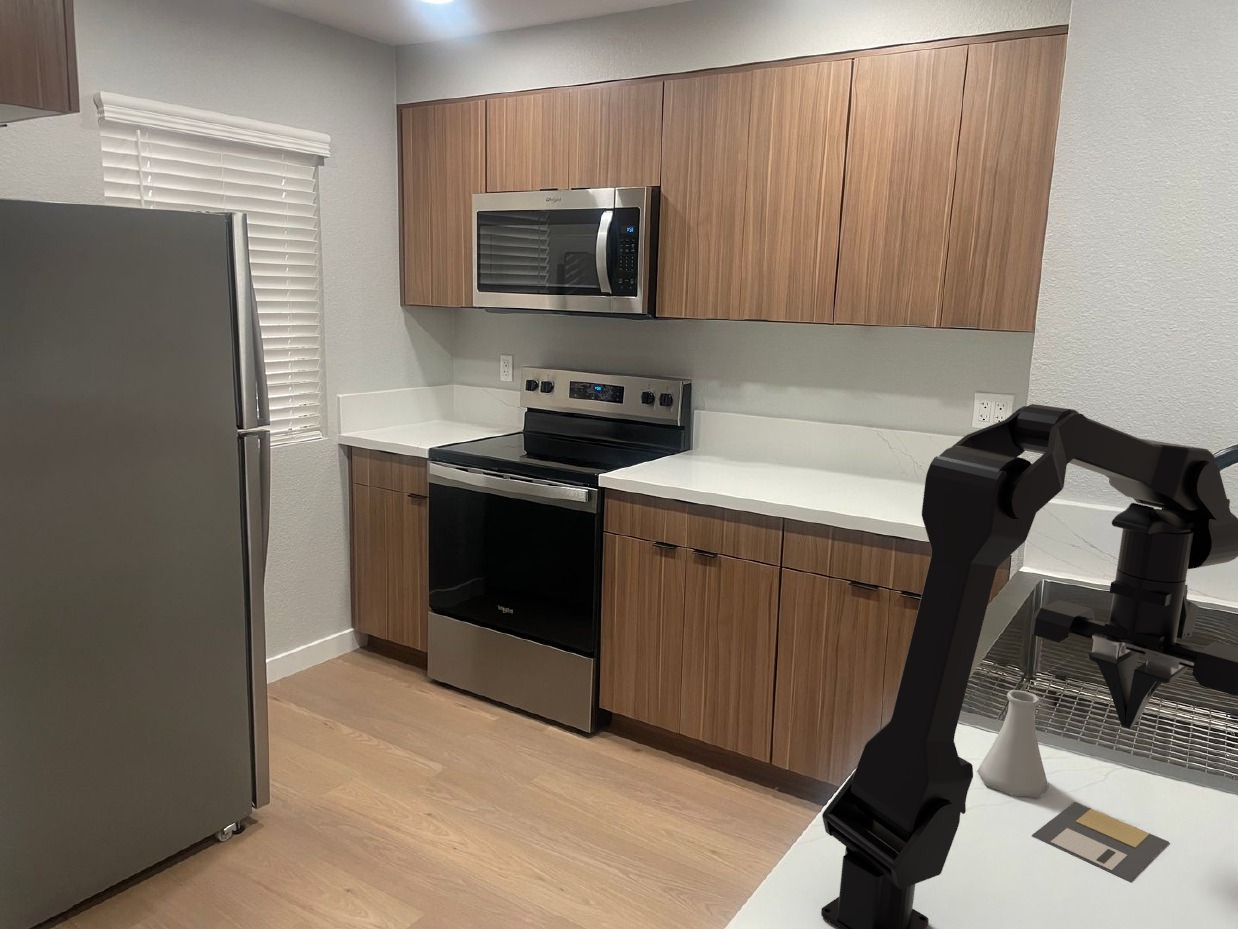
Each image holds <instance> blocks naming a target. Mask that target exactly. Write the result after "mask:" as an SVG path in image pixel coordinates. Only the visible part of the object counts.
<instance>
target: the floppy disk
mask: <svg viewBox="0 0 1238 929" xmlns="http://www.w3.org/2000/svg"><path fill="white" fill-rule="evenodd" d="M1031 836H1032V837H1034V838H1036V839H1038V840H1040V841H1043V842H1045V843H1046V844H1048V845H1051V846H1053V847H1055V848H1057V849H1060V850H1061V851H1063V852H1066V853H1067V854H1070V855H1073V857H1074V856H1075V857H1076V858H1079V859H1081V860H1083V861H1085V862H1087V863H1090V864H1091V865H1094V866H1095V867H1096V866H1097V867H1098V868H1100V869H1102V870H1105V871H1106V872H1109V873H1111V874H1113V875H1115V876H1117V877H1119V878H1122V879H1123V880H1126V881H1128V882H1131V881H1133V879H1134V878H1135V877H1137V875H1139V874H1140V872H1141V871H1142V870H1144V868H1145V867H1147V865H1149V863H1151V861H1153V859H1154V858H1155V857H1157V855H1158V854H1159V853H1161V851H1162V850H1163V849H1164V848H1165V847H1166V846H1167V845H1168V844H1169V843H1170V841H1169V840H1167V839H1164V838H1161V837H1159V836H1157V835H1155V834H1151V833H1150V832H1147V831H1145V830H1143V829H1140V828H1138V827H1135V826H1133V825H1131V824H1128V823H1126V822H1124V821H1122V820H1119V819H1117V818H1115V817H1112V816H1109V815H1108V814H1105V813H1103V812H1100V811H1098V810H1097V809H1093V808H1091V807H1088V806H1086V805H1083V804H1082V803H1079V802H1077V801H1073V802H1072V803H1071V804H1070V805H1069V806H1067V807H1065V809H1063V810H1062V811H1060V812H1059V813H1058V814H1057V815H1056V816H1054V817H1053V818H1052V819H1051V820H1049V821H1048V822H1047V823H1045V824H1044V825H1043V826H1041V827H1040V828H1039V829H1037V831H1035V832H1034V833H1033V834H1032V835H1031Z"/></svg>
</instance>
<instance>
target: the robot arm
mask: <svg viewBox="0 0 1238 929" xmlns="http://www.w3.org/2000/svg"><path fill="white" fill-rule="evenodd" d="M1025 452H1031V453H1035V454H1042V455H1041V456H1040V457H1038V458H1037V459H1036V460H1035V461H1034V462H1032V463H1031V461H1029V460H1027V459H1025V458H1023V457H1019V456H1021V455H1023V454H1024V453H1025ZM1215 462H1216V458H1215V455H1214V454H1213V453H1212V452H1211V451H1210V450H1209V449H1207V448H1203V447H1197V446H1196V447H1195V446H1190V445H1184V444H1183V445H1182V444H1177V443H1170V442H1165V441H1157V440H1151V439H1146V438H1145V439H1144V438H1139V437H1136V436H1134V435H1131V434H1128V433H1126V432H1124V431H1121V430H1118V429H1116V428H1114V427H1111V426H1109V425H1106V424H1103V423H1100V422H1099V421H1095V420H1093V419H1091V418H1088V417H1086V416H1085V414H1082V413H1080V412H1079V411H1078V410H1076V409H1073V408H1064V407H1059V406H1058V407H1057V406H1049V405H1045V404H1044V405H1042V404H1036V403H1031V404H1028V405H1024V406H1021V407H1019V408H1018V409H1017V410H1015V411H1014V412H1013V413H1011V414H1010V415H1009V416H1008V417H1006V418H1005V419H1004V420H1002V421H998V422H996V423H994V424H991V425H988V426H986V427H984V428H983V427H982V428H981V429H979V430H976V431H973V432H971V433H969V434H966V435H965V436H963V437H962V438H961V439H960V440H958V441H957V442H956V443H955V444H953V445H952V446H950V447H948V448H946V449H945V450H944V451H943V452H942V453H940V454H939V455H938V456H937V455H936V456H935V457H934V458H933V459H932V460H931V463H930V464H929V467H928V469H927V472H926V475H925V480H924V487H923V488H924V489H923V490H924V491H923V497H922V507H921V517H922V522H923V524H924V528H925V532H926V535H927V538H928V542H929V546H930V548H931V556H930V560H929V563H928V568H927V572H926V575H925V581H924V584H923V589H922V593H921V597H920V601H919V603H918V604H919V605H918V608H917V613H916V617H915V621H914V626H913V629H912V632H911V638H910V641H909V647H908V650H907V654H906V658H905V662H904V666H903V670H902V674H901V678H900V682H899V686H898V691H897V695H896V698H895V702H894V706H893V711H892V715H891V717H890V720H889V721H888V722H887V723H886V724H884V726H883V727H882V728H880V729H879V730H878V731H877V732H876V733H875V734H874V735H873V736H872V737H871V738H870V739H867V741H866V743H865V744H864V747H863V750H862V752H861V754H860V757H859V759H858V762H857V765H856V767H855V770H854V771H853V773H851V775H850V777H848V779H847V780H846V782H845V783H844V785H843V786H842V787H841V789H840V790H839V791H838V792H837V794H835V796H834V798H833V799H832V801H830V803H829V804H828V805H827V807H826V808H825V809H824V811H823V812H822V815H821V817H822V821H823V826H824V830H825V833H826V834H827V835H829V836H830V837H833V838H835V839H836V840H837V841H838V842H840V843H841V844H843V845H844V847H845V852H844V855H843V857H842V863H841V864H842V865H841V874H840V885H839V896H837V897H836V898H835V899H833V900H832V901H830V902H829V903H828V904H826V905H824V906H823V907H821V911H820V915H821V916H822V917H823V918H824V919H825V920H827V921H829V923H831V924H833V925H834V926H836V927H838V928H840V929H926V928H927V927H928V926H929V923H930V922H929V917H927V916H926V915H925V914H923V913H921V912H920V911H918V910H916V909H914V908H913V907H914V906H913V905H914V900H915V891H916V884H918V883H922V882H924V881H927V880H929V879H932V878H935V877H937V876H940V875H941V874H942V872H943V869H944V866H945V864H946V861H947V859H948V856H949V852H950V850H951V848H952V845H953V842H954V840H955V836H956V833H957V831H958V829H959V826H960V821H961V820H960V819H961V814H962V815H965V814H966V812H967V810H966V807H967V805H966V802H967V797H968V792H969V789H970V787H971V783H972V782H973V778H974V769H973V768H974V767H973V764H972V763H971V762H969V761H967V760H965V759H964V758H962V757H960V756H959V753H958V751H957V747H956V743H955V736H956V732H957V727H958V723H959V718H960V715H961V712H962V707H963V703H964V700H965V695H966V693H967V692H966V691H967V688H968V682H969V681H970V680H969V679H970V675H971V671H972V668H973V664H974V661H975V656H976V652H977V647H978V644H979V640H980V635H981V631H982V628H983V624H984V619H985V616H986V612H987V609H988V604H989V600H990V596H991V593H992V592H991V591H992V588H993V585H994V580H995V576H996V573H997V570H998V568H999V567H1000V566H1001V565H1002V564H1003V563H1004V562H1005V561H1006V560H1007V559H1008V558H1009V557H1010V556H1011V555H1012V554H1013V553H1015V551H1016V550H1017V549H1018V548H1020V547H1021V546H1022V545H1023V544H1024V543H1025V542H1026V541H1027V538H1028V537H1029V533H1030V531H1031V528H1032V525H1033V523H1034V520H1035V518H1036V515H1037V514H1038V512H1039V511H1040V510H1041V509H1043V507H1045V506H1046V505H1047V504H1048V503H1049V502H1050V501H1052V500H1053V499H1054V498H1055V497H1056V496H1057V495H1059V493H1060V492H1061V491H1063V489H1064V488H1065V481H1066V480H1065V478H1066V472H1067V465H1068V464H1071V465H1074V466H1077V467H1080V468H1083V469H1086V470H1088V471H1092V472H1095V473H1097V474H1100V475H1103V476H1105V478H1106V477H1107V478H1108V479H1109V480H1108V483H1109V485H1110V486H1111V487H1112V488H1114V489H1115V490H1116V491H1118V492H1119V493H1120V494H1122V495H1124V496H1125V497H1127V498H1130V499H1133V500H1134V501H1135V502H1131V503H1130V504H1129V505H1128V506H1127V507H1126V508H1125V510H1123V511H1122V512H1120V513H1118V514H1117V515H1115V517H1113V519H1112V521H1111V525H1112V526H1113V527H1115V528H1120V529H1122V533H1121V540H1120V545H1119V552H1118V553H1119V554H1118V560H1117V568H1116V573H1115V580H1113V581H1111V582H1110V587H1109V593H1110V594H1112V600H1111V606H1110V614H1109V620H1108V621H1107V622H1103V621H1100V620H1095V617H1096V615H1095V612H1094V608H1091V607H1088V606H1083V605H1081V604H1076V603H1074V602H1073V603H1072V602H1068V601H1064V600H1061V599H1057V600H1056V601H1053V602H1052V603H1049V604H1047V605H1044V606H1042V607H1040V608H1038V609H1037V610H1035V612H1034V614H1033V616H1032V617H1031V618H1032V619H1031V627H1030V634H1032V635H1033V636H1035V637H1039V638H1042V639H1045V640H1049V641H1051V642H1056V643H1058V644H1059V643H1062V642H1063V641H1065V640H1067V639H1069V638H1070V637H1072V636H1071V635H1073V634H1074V635H1076V636H1080V637H1083V638H1087V639H1090V640H1093V643H1092V650H1091V651H1090V652H1088V653H1087V659H1088V660H1089V661H1091V662H1094V663H1096V664H1097V668H1098V669H1099V671H1100V674H1101V675H1102V678H1103V679H1104V682H1105V683H1106V686H1107V688H1108V691H1109V694H1110V696H1111V699H1112V703H1113V706H1114V709H1115V712H1116V714H1117V717H1118V720H1119V723H1120V726H1121V727H1123V728H1127V729H1129V730H1130V729H1132V728H1134V726H1135V725H1136V723H1137V721H1138V720H1139V718H1140V716H1141V715H1142V713H1143V712H1144V710H1145V708H1146V707H1147V705H1148V703H1149V702H1150V700H1151V698H1152V697H1153V695H1154V694H1155V693H1156V691H1157V690H1158V688H1159V687H1160V686H1161V685H1162V684H1170V683H1171V682H1173V681H1175V680H1176V679H1178V678H1179V677H1180V676H1182V675H1183V674H1184V673H1186V672H1187V670H1188V668H1189V669H1192V674H1191V675H1192V676H1193V678H1194V679H1195V680H1196V682H1198V684H1199V685H1200V686H1201V687H1204V688H1208V689H1212V690H1214V691H1217V692H1221V693H1224V694H1227V695H1231V696H1234V697H1235V696H1237V697H1238V647H1237V646H1233V645H1230V644H1225V643H1222V642H1218V641H1215V640H1214V641H1212V642H1211V643H1210V644H1208V645H1207V646H1205V647H1204V648H1201V649H1200V648H1198V647H1195V646H1190V645H1187V644H1183V643H1180V642H1177V639H1180V640H1183V639H1185V638H1186V637H1192V634H1193V632H1194V627H1195V626H1196V625H1195V624H1196V620H1197V616H1198V614H1199V610H1200V606H1199V605H1197V604H1195V603H1193V602H1192V601H1189V600H1188V597H1187V596H1188V592H1189V590H1188V584H1186V581H1187V577H1188V576H1187V574H1188V570H1192V569H1198V568H1204V567H1209V566H1213V565H1214V566H1215V565H1219V564H1225V563H1229V562H1232V561H1234V560H1235V559H1237V558H1238V517H1237V516H1236V515H1235V514H1233V512H1231V508H1230V503H1231V500H1230V499H1229V498H1227V494H1226V490H1225V486H1224V482H1223V479H1222V476H1221V475H1222V474H1221V471H1220V468H1219V467H1218V464H1217V463H1215ZM1140 654H1141V655H1144V660H1145V662H1143V664H1141V665H1139V666H1138V667H1137V665H1138V661H1139V659H1140Z"/></svg>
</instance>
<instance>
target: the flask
mask: <svg viewBox="0 0 1238 929" xmlns="http://www.w3.org/2000/svg"><path fill="white" fill-rule="evenodd" d="M1006 697H1007V699H1008V701H1009V702H1008V708H1007V712H1006V716H1005V718H1004V721H1003V725H1002V727H1001V728H1000V731H999V733H998V734H997V736H996V737H995V739H994V742H993V743H992V745H991V747H990V748H989V749H988V752H986V755H985V756H984V758H983V760H982V761H981V764H980V765H979V767H978V768H977V770H976V772H977V774H978V775H979V777H980V779H981V780H982V782H983V784H984V785H985V786H987V787H990V788H993V789H995V790H997V791H1000V792H1003V793H1006V794H1008V795H1011V796H1020V797H1030V798H1042V796H1043V795H1044V793H1045V792H1046V791H1047V790H1048V789H1049V785H1048V778H1047V776H1046V772H1045V768H1044V764H1043V761H1042V756H1041V751H1040V747H1039V743H1038V737H1037V734H1036V718H1035V717H1036V716H1035V715H1036V707H1037V706H1039V704H1040V701H1041V700H1040V698H1039V697H1038V696H1037V695H1036V693H1035V694H1034V693H1032V692H1028V691H1025V690H1019V689H1018V690H1016V689H1011V690H1009V691H1008V692H1007V694H1006Z"/></svg>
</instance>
